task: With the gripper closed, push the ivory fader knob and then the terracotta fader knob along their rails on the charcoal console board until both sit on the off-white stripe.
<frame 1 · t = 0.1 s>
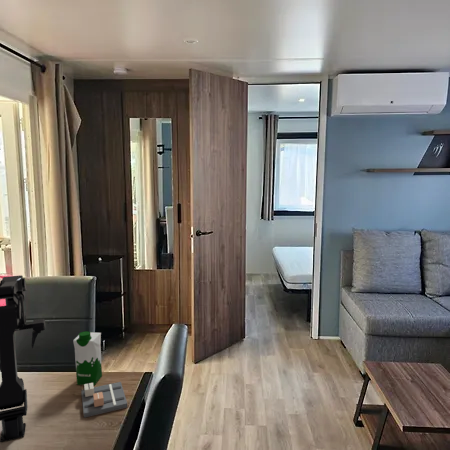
hand: (18, 350, 143), 15 cm above the table, fingers open, 9 cm apart
fader terracotta: (98, 399, 132), point 3 cm above the table, slide at 0.0 cm
console: (103, 400, 137), on the table
milk carton: (90, 380, 150), on the table
fader ivory: (89, 389, 138), point 3 cm above the table, slide at 0.0 cm
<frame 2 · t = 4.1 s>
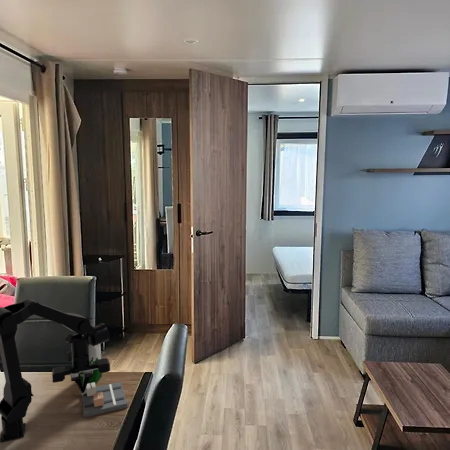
hand: (83, 392, 137), 3 cm above the table, fingers closed
fader ivory: (91, 389, 138), point 3 cm above the table, slide at 0.7 cm, touching gripper
everything else where it was.
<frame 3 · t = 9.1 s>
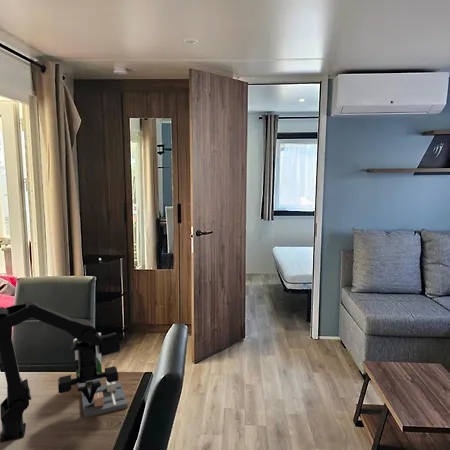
hand: (90, 402, 131), 3 cm above the table, fingers closed
fader terracotta: (98, 399, 132), point 3 cm above the table, slide at 0.1 cm, touching gripper
fader ivory: (111, 384, 141), point 3 cm above the table, slide at 7.5 cm
everything else where it was.
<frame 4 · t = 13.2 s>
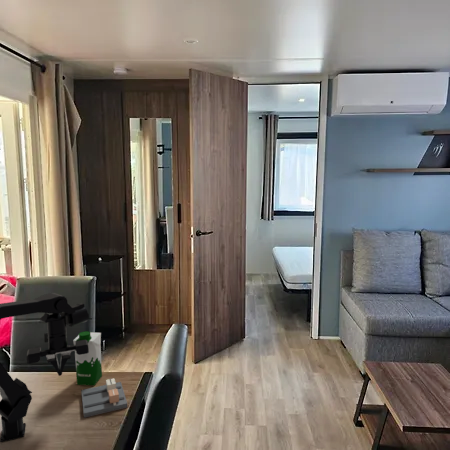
hand: (60, 375, 131), 12 cm above the table, fingers closed
fader terracotta: (113, 395, 134), point 3 cm above the table, slide at 5.0 cm
everything else where it was.
at the end: fader ivory slide at 7.5 cm; fader terracotta slide at 5.0 cm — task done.
